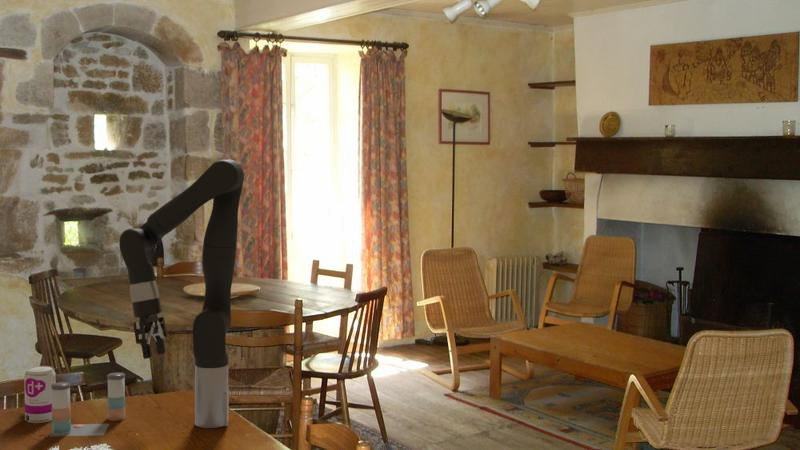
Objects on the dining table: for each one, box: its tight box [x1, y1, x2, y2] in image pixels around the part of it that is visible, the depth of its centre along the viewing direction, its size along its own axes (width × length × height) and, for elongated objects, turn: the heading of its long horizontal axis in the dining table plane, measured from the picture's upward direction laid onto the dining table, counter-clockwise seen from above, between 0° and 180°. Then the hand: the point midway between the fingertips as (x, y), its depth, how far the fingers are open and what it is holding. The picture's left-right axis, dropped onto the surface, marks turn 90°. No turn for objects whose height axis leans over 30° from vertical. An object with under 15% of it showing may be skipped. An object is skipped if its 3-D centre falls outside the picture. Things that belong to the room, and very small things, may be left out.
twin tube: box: [51, 381, 72, 435], centre depth 247 cm, size 5×5×13 cm
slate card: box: [48, 423, 110, 438], centre depth 251 cm, size 14×10×1 cm
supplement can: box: [23, 365, 56, 424], centre depth 259 cm, size 8×8×15 cm
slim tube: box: [107, 372, 126, 422], centre depth 261 cm, size 5×5×13 cm
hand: (154, 356), depth 256 cm, fingers open, 8 cm apart
